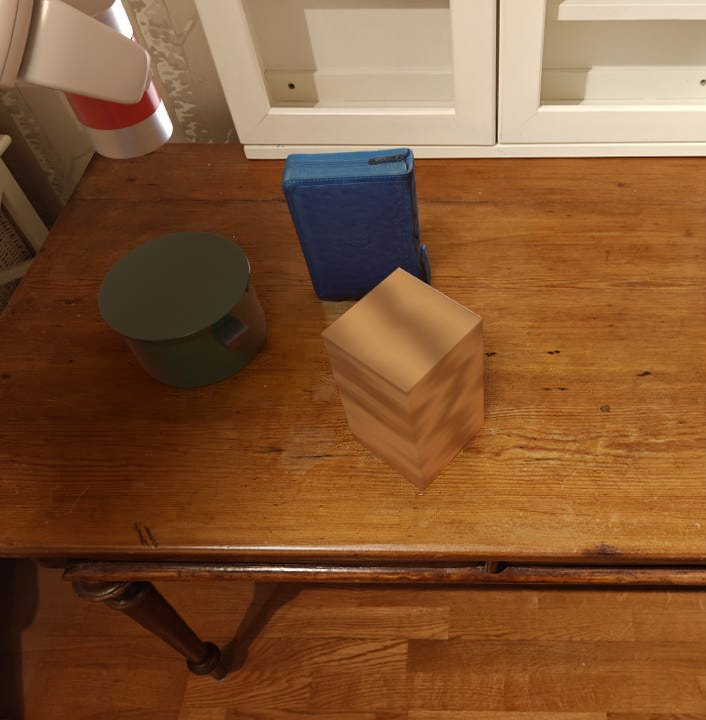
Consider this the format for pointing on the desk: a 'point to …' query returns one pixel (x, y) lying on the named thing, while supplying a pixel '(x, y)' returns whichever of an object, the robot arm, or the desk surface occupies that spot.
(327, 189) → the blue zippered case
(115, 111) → the can
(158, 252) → the pot
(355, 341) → the block
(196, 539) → the desk surface
